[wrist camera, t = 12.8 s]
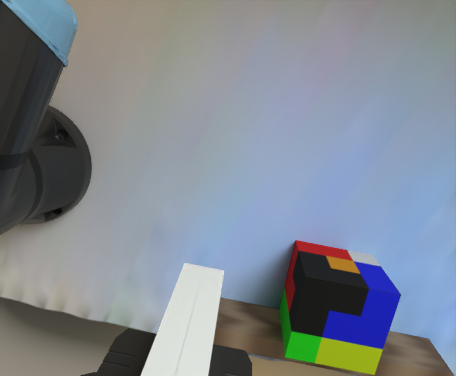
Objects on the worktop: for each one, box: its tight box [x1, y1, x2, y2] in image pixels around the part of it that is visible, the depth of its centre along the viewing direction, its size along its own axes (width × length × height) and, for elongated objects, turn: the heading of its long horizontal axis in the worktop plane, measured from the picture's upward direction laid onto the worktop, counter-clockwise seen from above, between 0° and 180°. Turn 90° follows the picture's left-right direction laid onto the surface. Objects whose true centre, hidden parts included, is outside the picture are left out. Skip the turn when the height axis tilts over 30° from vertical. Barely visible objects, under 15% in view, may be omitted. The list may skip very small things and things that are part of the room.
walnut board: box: [213, 298, 454, 376], centre depth 50 cm, size 30×2×7 cm, turn 79°
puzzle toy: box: [279, 240, 401, 375], centre depth 47 cm, size 10×10×10 cm
